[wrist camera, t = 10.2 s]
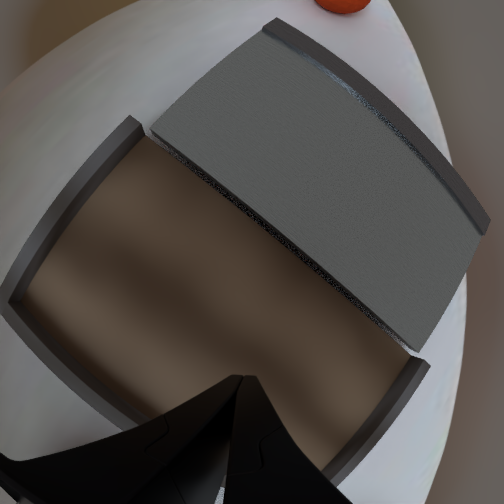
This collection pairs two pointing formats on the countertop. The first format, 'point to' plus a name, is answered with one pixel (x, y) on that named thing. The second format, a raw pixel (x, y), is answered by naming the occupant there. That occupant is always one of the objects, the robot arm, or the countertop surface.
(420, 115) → the countertop surface
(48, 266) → the tray
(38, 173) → the countertop surface
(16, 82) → the countertop surface
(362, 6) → the clementine
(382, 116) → the panel
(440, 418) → the countertop surface
